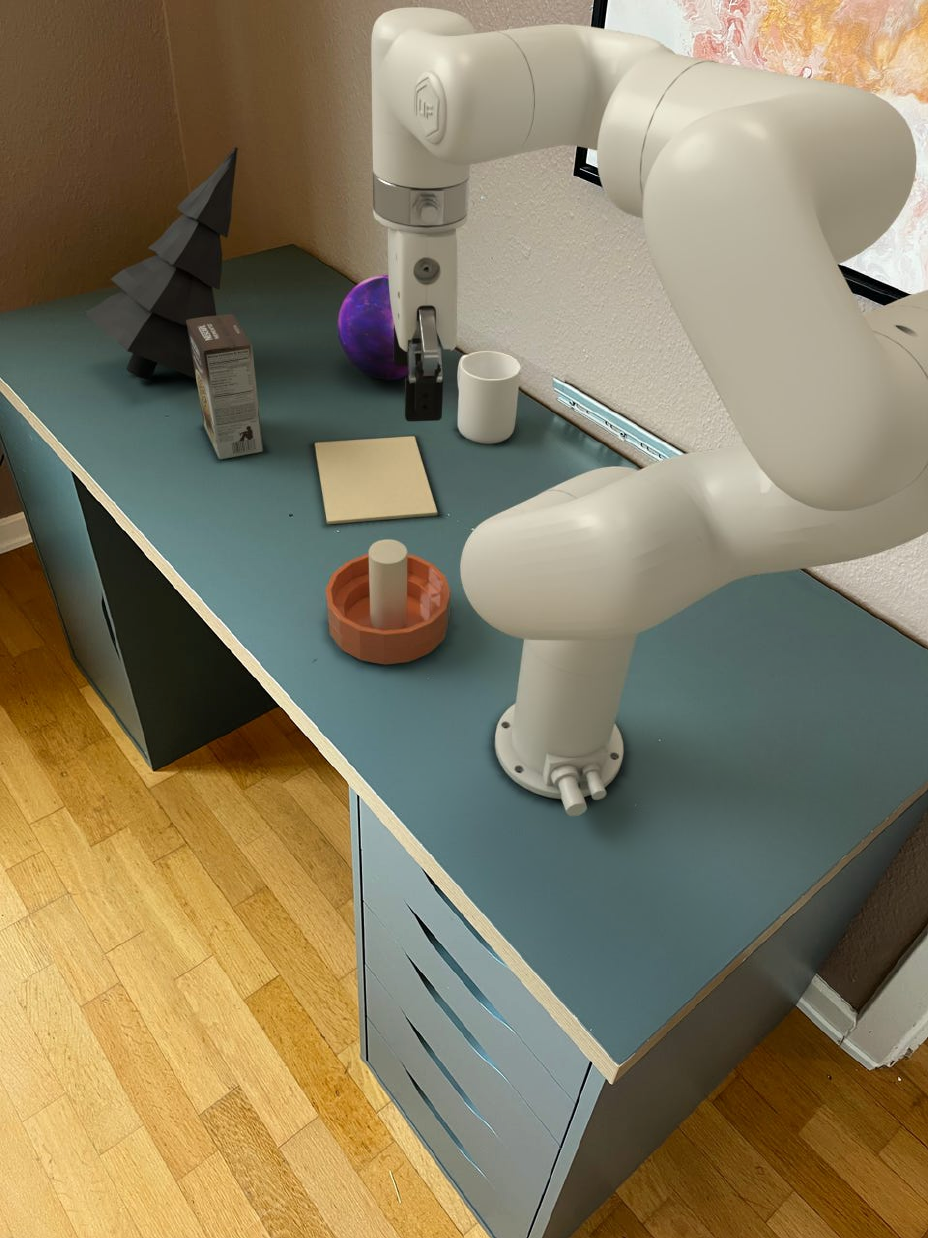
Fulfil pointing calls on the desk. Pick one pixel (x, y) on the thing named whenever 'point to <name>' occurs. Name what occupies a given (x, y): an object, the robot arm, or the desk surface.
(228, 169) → the decorative tree
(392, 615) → the cream cylinder
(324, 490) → the mat
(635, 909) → the desk surface
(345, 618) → the bowl
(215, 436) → the coffee box
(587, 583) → the robot arm
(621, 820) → the desk surface
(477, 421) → the cup
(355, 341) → the decorative orb
